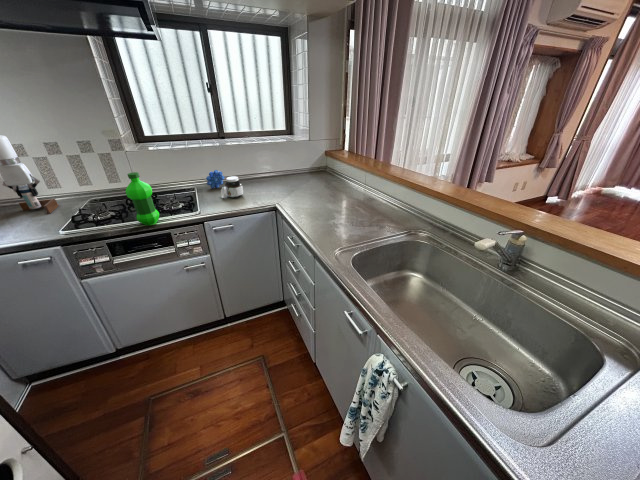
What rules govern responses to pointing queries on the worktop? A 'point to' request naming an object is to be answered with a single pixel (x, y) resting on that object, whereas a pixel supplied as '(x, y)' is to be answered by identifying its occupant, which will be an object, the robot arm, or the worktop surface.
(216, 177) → the blue knobbly toy
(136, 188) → the plastic bottle
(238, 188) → the spread jar
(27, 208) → the corner rack
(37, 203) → the white pill bottle
